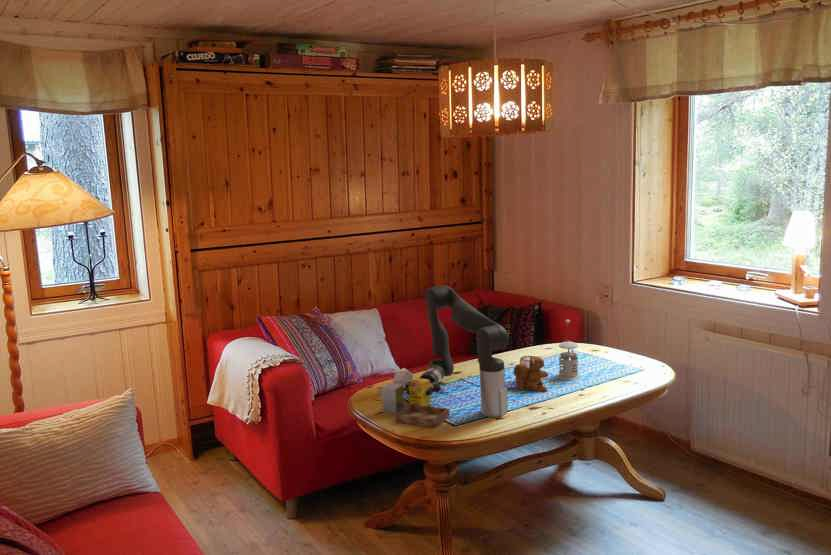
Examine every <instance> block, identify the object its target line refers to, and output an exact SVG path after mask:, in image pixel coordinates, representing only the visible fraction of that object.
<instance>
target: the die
mask: <svg viewBox="0 0 831 555" xmlns="http://www.w3.org/2000/svg"><path fill="white" fill-rule="evenodd" d="M413 379H414V374H413V373H412V372H410V371H409V370H408V369H407V368H405V367H403V368H401V369H398V370H396V371H395V372H394V377H393V380H392V383H394V384H402V385H403V390H406V389H405V385H406V384H407V383H408V382H409V381H411V380H413Z"/></svg>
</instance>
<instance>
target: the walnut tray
mask: <svg viewBox="0 0 831 555" xmlns="http://www.w3.org/2000/svg"><path fill="white" fill-rule="evenodd" d="M395 416H396V423H399V424H405V425H406V424H407V425H413V426H419V427H426V428H433V429H434V428H435V429H436V428H437V427H438V426H440V425H441V424H442V423H443V422H445V421H446V420H448V419H449V418H450V417H449V416H450V408H446V407H438V406H425V405H417V404H411V405H410V404H409V405H408V406H407V407H404V409H403V410H402V411H400V412H399V413H398V414H395Z"/></svg>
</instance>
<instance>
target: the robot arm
mask: <svg viewBox="0 0 831 555" xmlns="http://www.w3.org/2000/svg"><path fill="white" fill-rule="evenodd" d="M425 303H426V310H427V314H428V315H427V316H428V319H429V320H428V321H429V325H430V330H431V343H432V344H431V346H432V354H433V355H434V356H436V357H439V358H440V359H438V358H435V359H434V358H433V359H432V360H430V362H429V365H428V369H427V370H425V371H424V372H423V373H422V374H421V375H420V376H419V378H422V379H429V383H430V388H428V390H427V396H429V395H430V396H431V395H432V394H434V393H435V394H438V393H439V392H440V391H441V390H442V389H443V382H441V381H442V380H443V379H444V377H451V376H452V375H453V373H454V370H455V368H454V367H455V366H454V362H453V360H452V356H451V354H450V346H449V334H448V331H447V329H446V328H445V327H444V325H443V323H442V322H441V321H440V319H439V316H438V309H442V308H451V319H452V321H453V322H454V323H455V324H456V325H457V326H459V327H460V328H461V329H463V330H464V331H468V332H471V333H475V334H476V336H475V342H476V354H477V360H478V365H479V389H480V392H479V393H480V412H481V414H482V415H483V416H486V417H491V418H492V417H493V418H494V417H495V418H497V417H500V418H501V417H503V416H504V415H506V414H507V413H508V412H509V408H508V405H509V404H508V387H506V379H505V377H506V376H505V361H504V360H503V359H502V358H500V357H499V358H498V357H493V353H492V352H496V351H500V350H504V349H505V348H507V346H508V345H509V344H510V343H509V342H510V336H509V333H508V331H507V330H506V329H505V328H504V326H502V325H501V324H500V323H498V322H496V321H493V320H492V319H490V318H489V317H487V316H486V315H484V314H483V313H481V312H480V311H478V309H477V308H475V307H474V306H472V304H469V303H468V302H466V300H464V299H463V298H462V297H461V296H460V295H458V293H456V291H454V289H453V288H452V287H451V286H449V285H444V284H443V285H437V286H432V287H429V288H427V289H426V291H425ZM404 390H405V392H406V394H407V395H409V382H408V383H407V384H406V385H405V389H404Z"/></svg>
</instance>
